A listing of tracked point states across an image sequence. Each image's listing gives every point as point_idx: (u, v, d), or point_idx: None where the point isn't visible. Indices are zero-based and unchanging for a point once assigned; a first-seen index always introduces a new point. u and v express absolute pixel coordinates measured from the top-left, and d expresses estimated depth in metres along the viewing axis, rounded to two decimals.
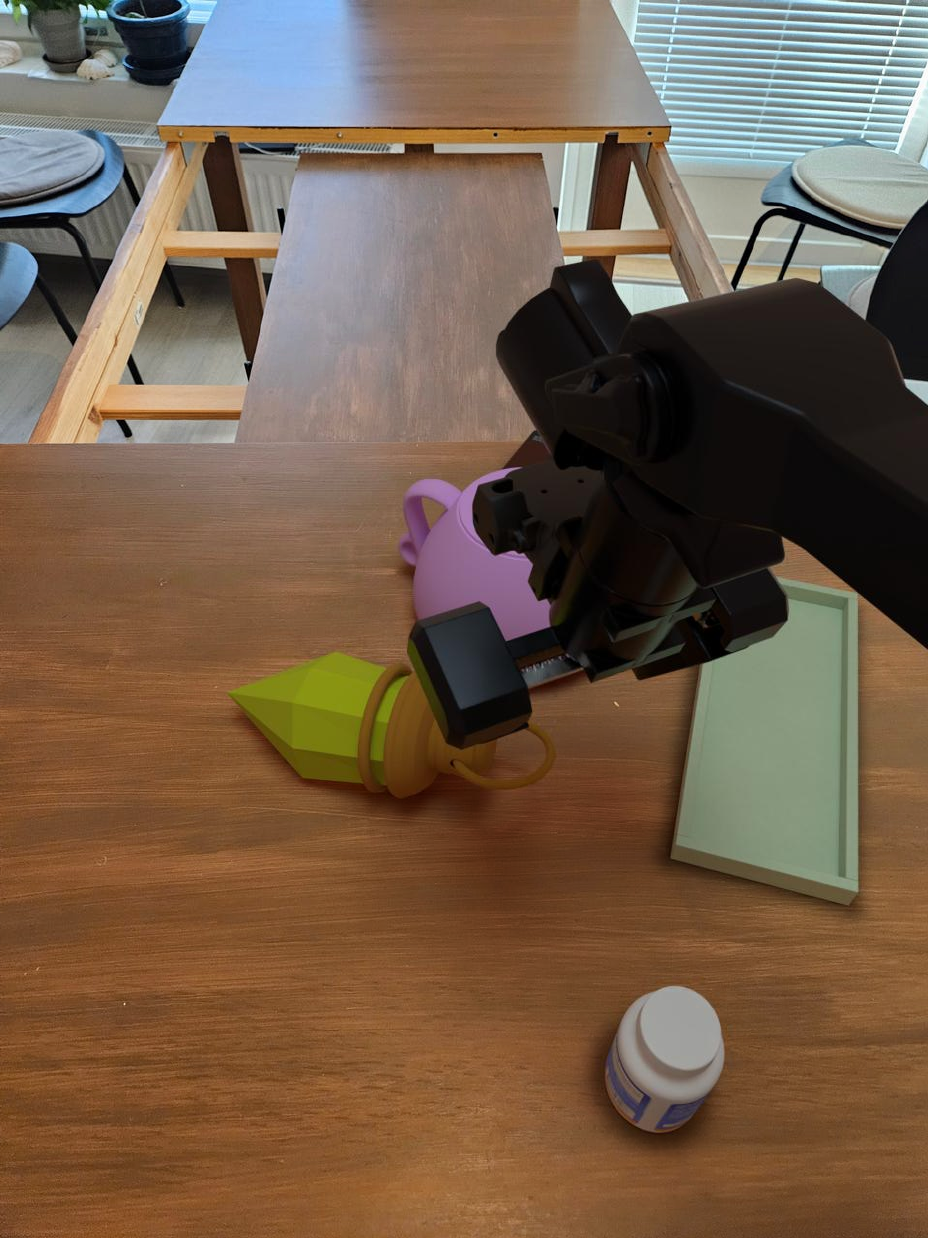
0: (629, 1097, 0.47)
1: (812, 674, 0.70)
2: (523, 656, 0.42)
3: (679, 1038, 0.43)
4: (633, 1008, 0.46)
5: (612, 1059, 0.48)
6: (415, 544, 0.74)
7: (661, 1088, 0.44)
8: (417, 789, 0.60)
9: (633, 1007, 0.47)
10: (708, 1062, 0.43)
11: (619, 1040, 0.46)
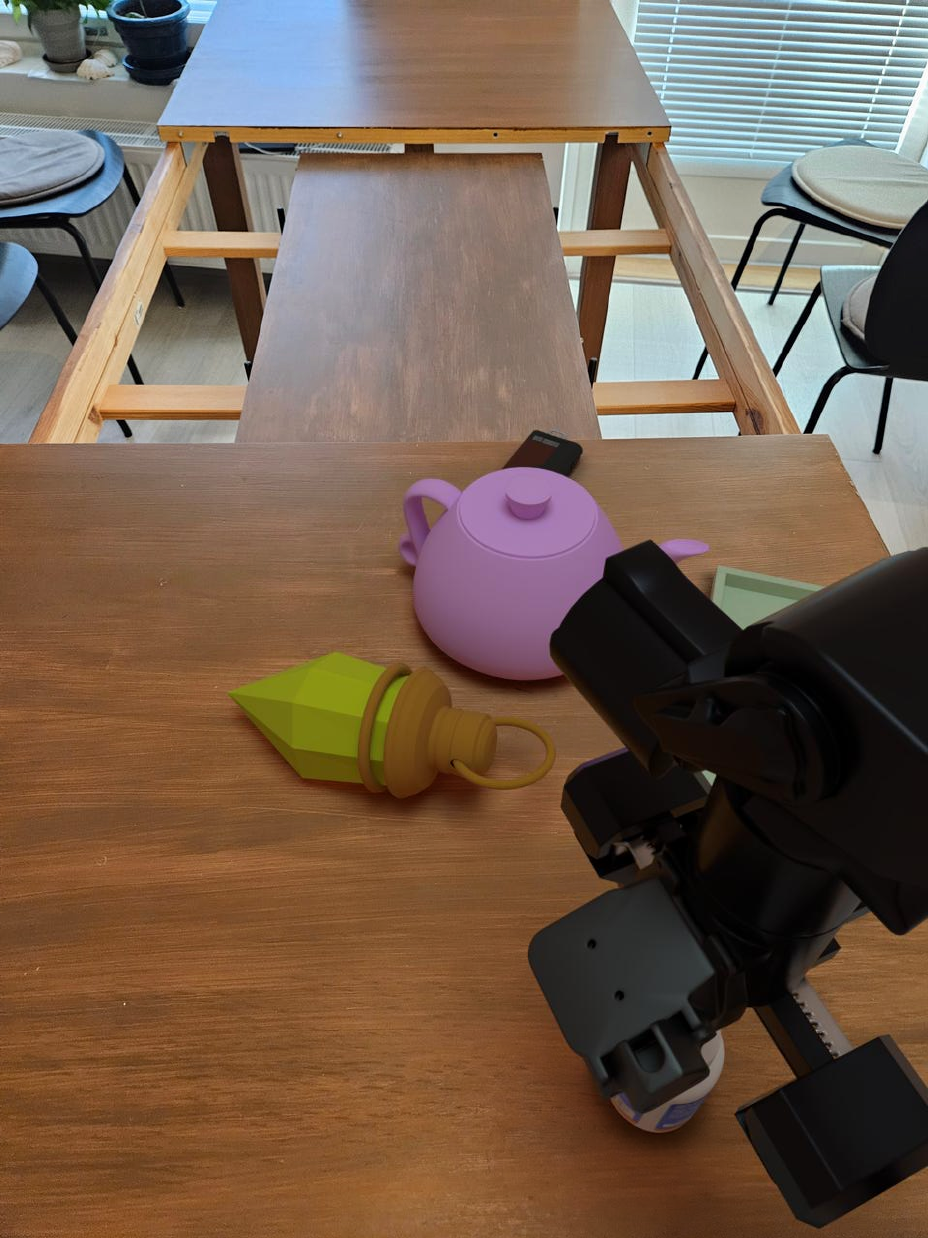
0: None
1: None
2: (823, 1043, 0.33)
3: None
4: None
5: None
6: (415, 544, 0.74)
7: None
8: (417, 789, 0.60)
9: None
10: (708, 1062, 0.43)
11: None
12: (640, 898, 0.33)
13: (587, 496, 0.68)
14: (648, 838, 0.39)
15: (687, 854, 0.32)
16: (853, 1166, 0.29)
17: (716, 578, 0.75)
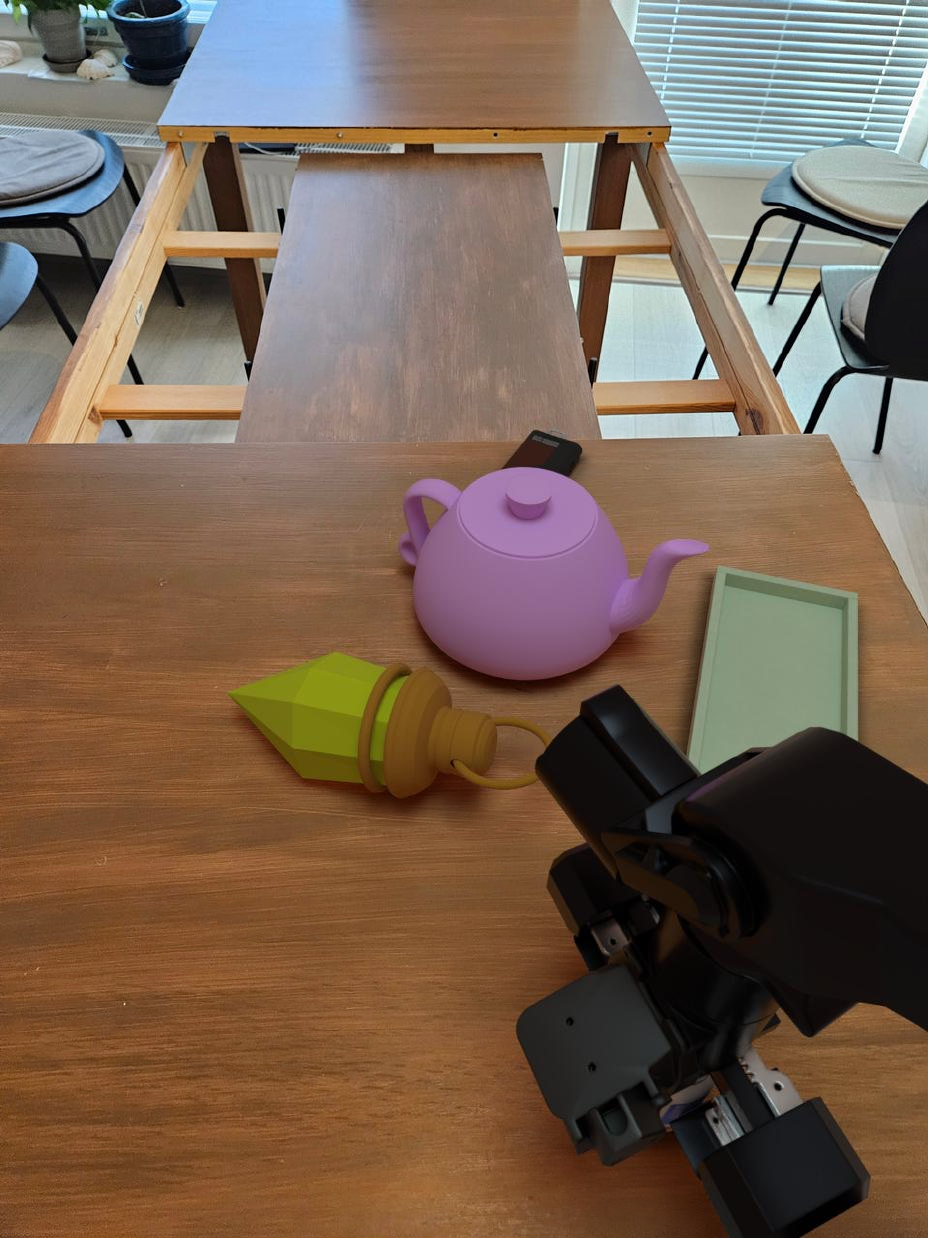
0: None
1: (812, 674, 0.70)
2: (763, 1104, 0.39)
3: None
4: None
5: None
6: (415, 544, 0.74)
7: None
8: (417, 789, 0.60)
9: None
10: None
11: None
12: (610, 982, 0.39)
13: (587, 496, 0.68)
14: None
15: (649, 947, 0.38)
16: (783, 1211, 0.36)
17: (716, 578, 0.75)
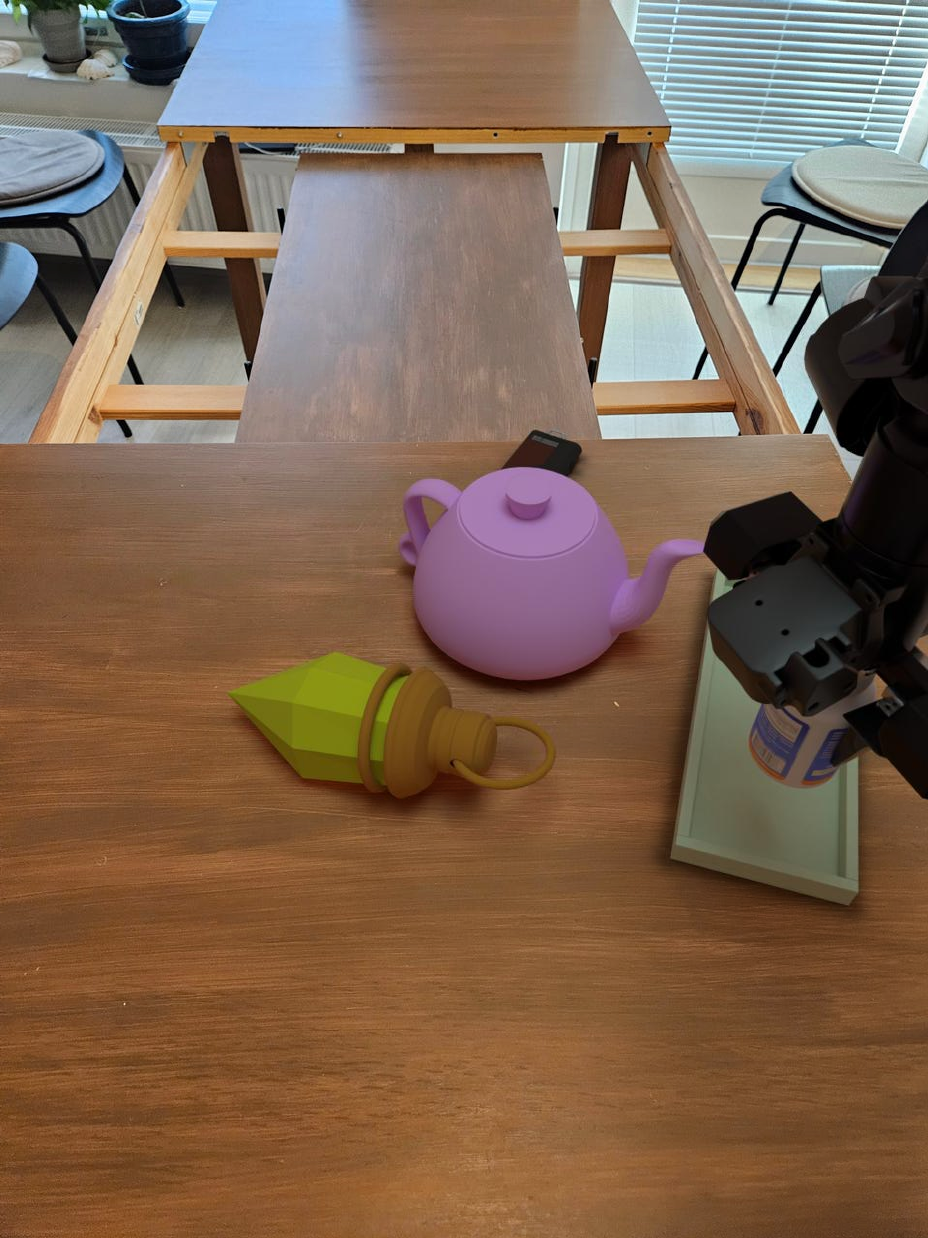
0: (782, 742, 0.50)
1: None
2: None
3: None
4: None
5: (764, 712, 0.51)
6: (415, 544, 0.74)
7: (822, 711, 0.47)
8: (417, 789, 0.60)
9: None
10: (870, 676, 0.46)
11: None
12: (795, 570, 0.42)
13: (587, 496, 0.68)
14: None
15: (834, 529, 0.41)
16: None
17: (716, 578, 0.75)
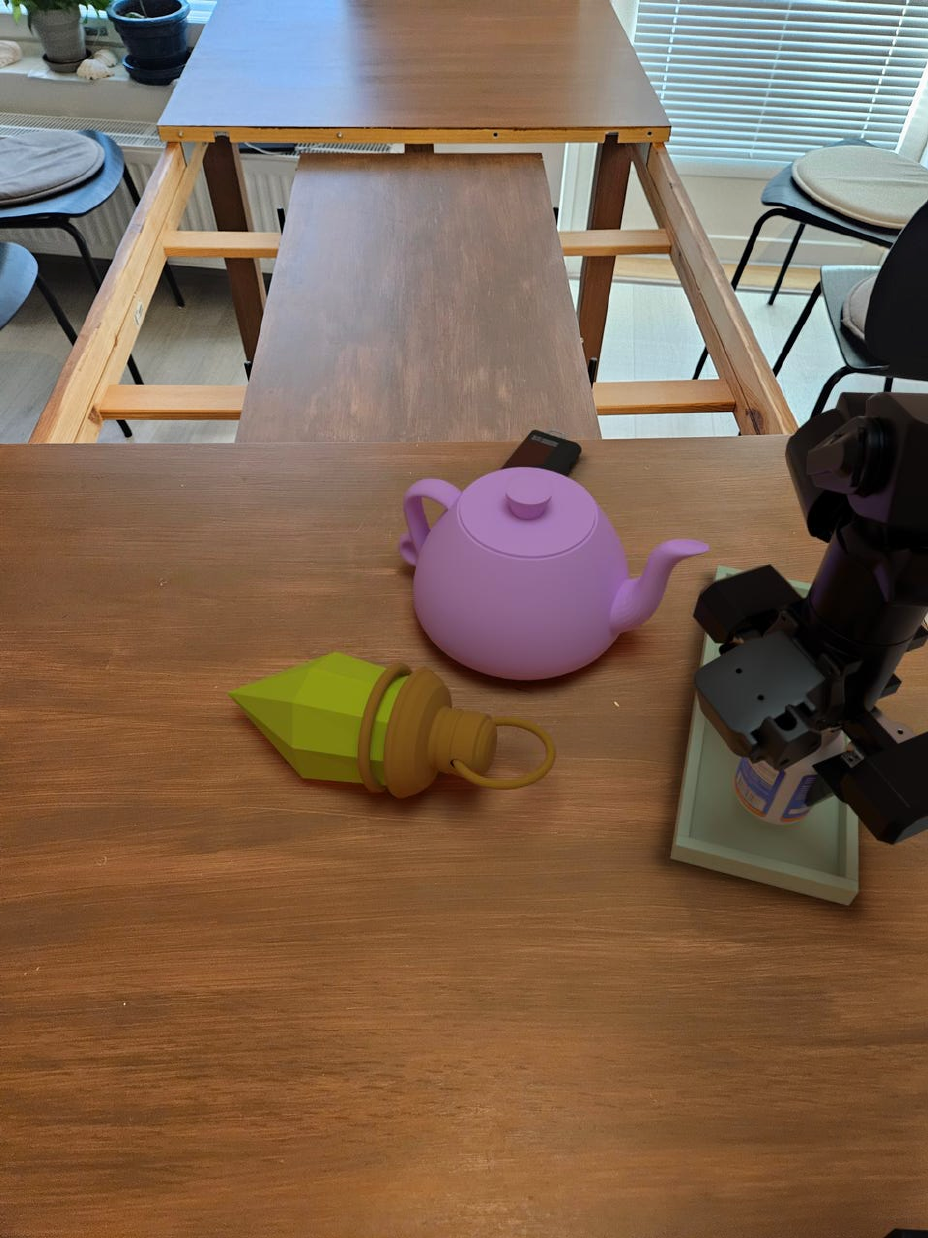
0: (762, 784, 0.57)
1: None
2: (891, 738, 0.49)
3: None
4: None
5: None
6: (415, 544, 0.74)
7: None
8: (417, 789, 0.60)
9: None
10: None
11: None
12: (770, 642, 0.49)
13: (587, 496, 0.68)
14: None
15: (803, 609, 0.48)
16: (916, 795, 0.46)
17: (716, 578, 0.75)
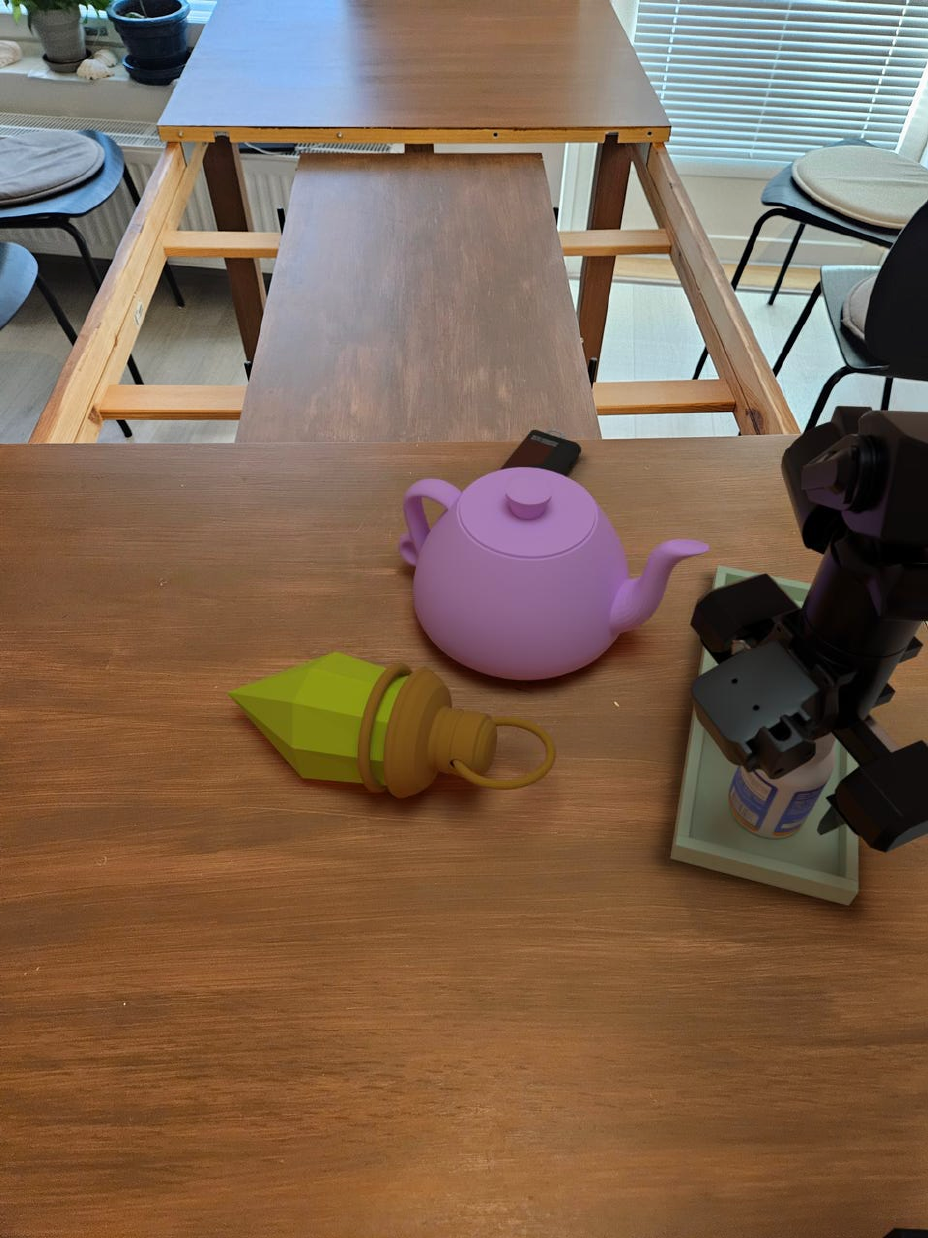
0: (755, 800, 0.58)
1: None
2: (885, 746, 0.50)
3: None
4: None
5: (740, 773, 0.59)
6: (415, 544, 0.74)
7: (787, 777, 0.55)
8: (417, 789, 0.60)
9: None
10: (828, 748, 0.54)
11: None
12: (765, 652, 0.50)
13: (587, 496, 0.68)
14: None
15: (798, 620, 0.49)
16: (908, 804, 0.47)
17: (716, 578, 0.75)
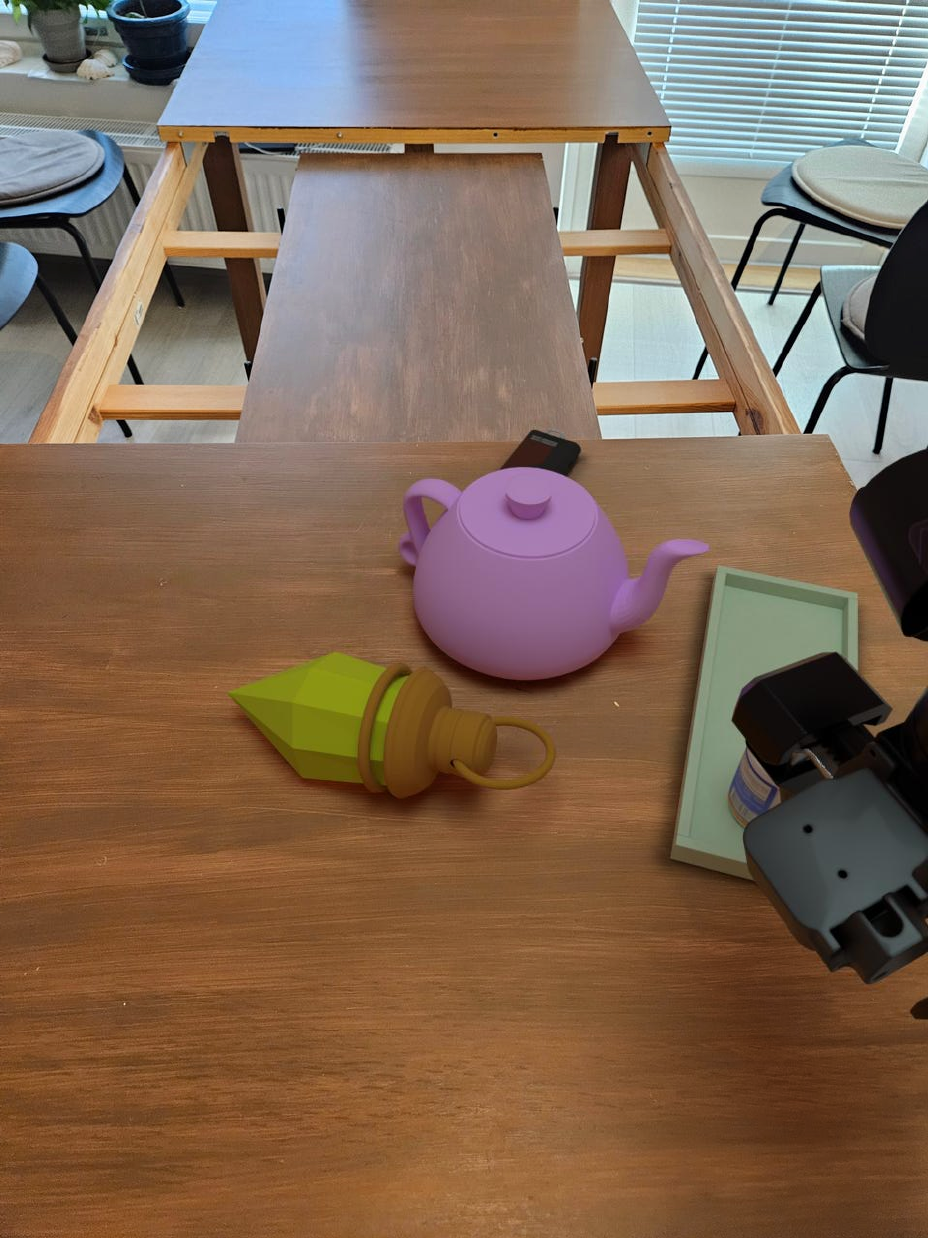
0: (755, 800, 0.58)
1: None
2: None
3: None
4: None
5: (740, 773, 0.59)
6: (415, 544, 0.74)
7: None
8: (417, 789, 0.60)
9: None
10: None
11: None
12: (852, 786, 0.34)
13: (587, 496, 0.68)
14: (824, 746, 0.41)
15: (902, 741, 0.33)
16: None
17: (716, 578, 0.75)
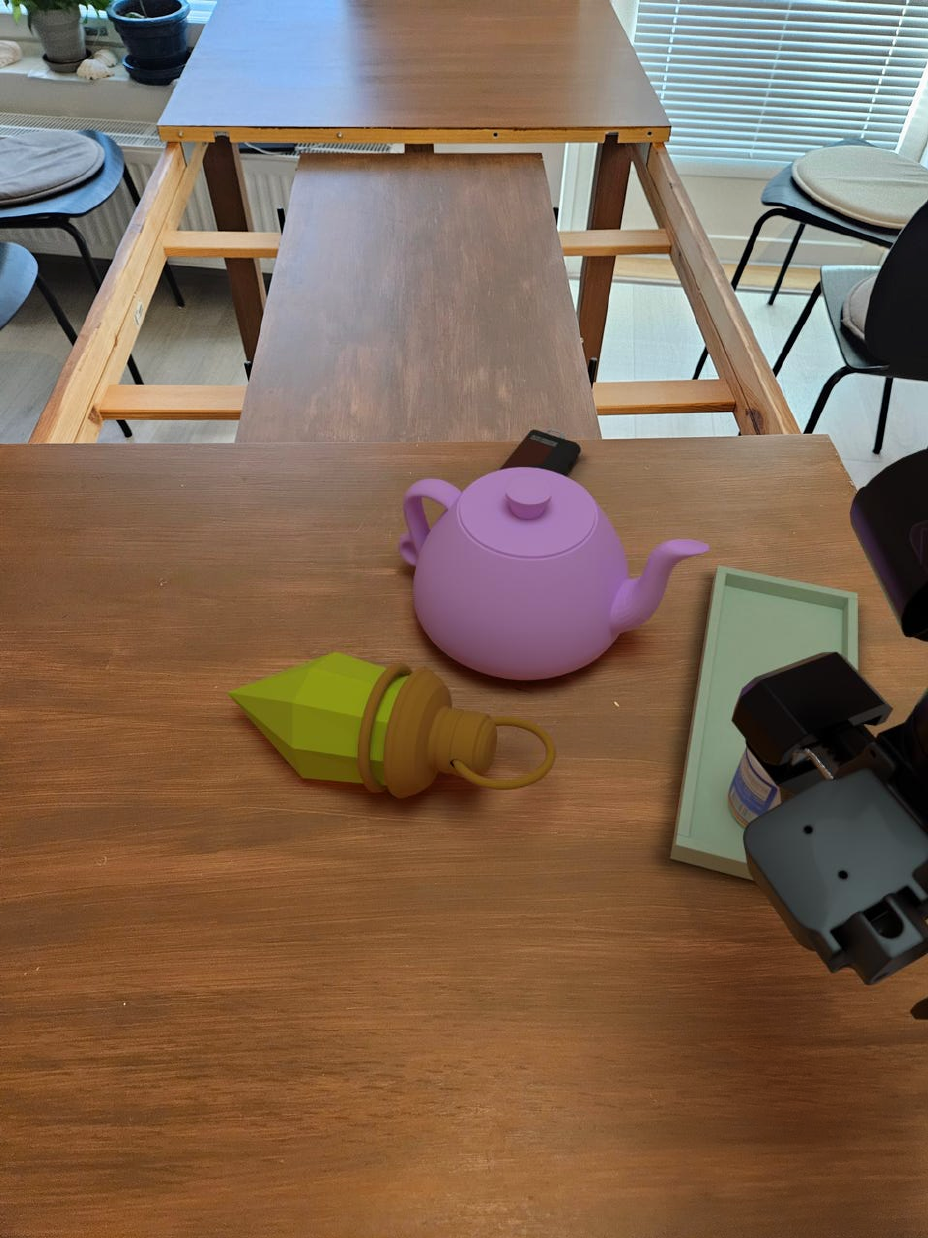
0: (755, 800, 0.58)
1: None
2: None
3: None
4: None
5: (740, 773, 0.59)
6: (415, 544, 0.74)
7: None
8: (417, 789, 0.60)
9: None
10: None
11: None
12: (852, 787, 0.34)
13: (587, 496, 0.68)
14: (825, 746, 0.41)
15: (902, 742, 0.33)
16: None
17: (716, 578, 0.75)
